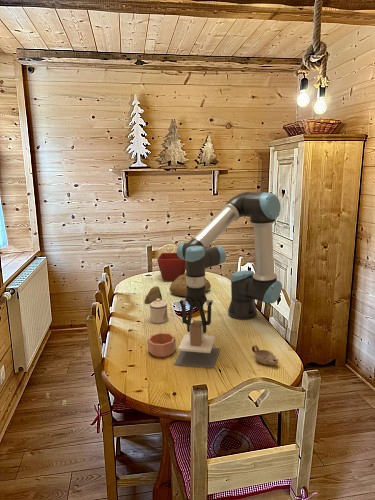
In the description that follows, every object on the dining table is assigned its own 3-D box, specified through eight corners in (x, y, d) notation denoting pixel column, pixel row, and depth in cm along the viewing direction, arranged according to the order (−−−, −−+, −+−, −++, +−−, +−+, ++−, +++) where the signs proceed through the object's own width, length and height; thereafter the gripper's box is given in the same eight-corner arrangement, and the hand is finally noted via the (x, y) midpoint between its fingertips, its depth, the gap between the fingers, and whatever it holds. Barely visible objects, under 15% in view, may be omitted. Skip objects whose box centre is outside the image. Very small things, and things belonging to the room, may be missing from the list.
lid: (215, 338, 158) (214, 318, 156) (210, 353, 145) (209, 331, 143) (185, 336, 160) (184, 316, 158) (178, 350, 148) (177, 329, 146)
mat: (219, 349, 160) (219, 348, 160) (213, 368, 145) (213, 367, 145) (183, 346, 164) (183, 345, 164) (174, 365, 148) (174, 364, 148)
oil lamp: (282, 365, 146) (283, 354, 145) (268, 371, 142) (268, 359, 141) (259, 352, 157) (259, 341, 156) (246, 357, 153) (246, 346, 152)
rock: (142, 302, 212) (159, 299, 211) (141, 287, 216) (158, 285, 214) (147, 307, 222) (163, 304, 221) (146, 293, 225) (162, 291, 224)
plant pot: (162, 274, 271) (161, 252, 268) (188, 274, 269) (188, 252, 266) (158, 283, 253) (157, 259, 249) (186, 283, 251) (185, 259, 247)
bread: (195, 301, 218) (195, 281, 215) (166, 295, 229) (165, 276, 226) (215, 289, 238) (215, 271, 235) (187, 284, 249) (186, 267, 246)
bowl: (177, 346, 164) (177, 333, 162) (171, 359, 153) (170, 345, 152) (153, 344, 166) (153, 332, 165) (145, 356, 156) (145, 343, 154)
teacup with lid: (167, 323, 187) (166, 302, 185) (149, 324, 188) (148, 302, 185) (169, 314, 199) (168, 293, 197) (152, 314, 199) (151, 294, 197)
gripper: (172, 287, 146) (174, 342, 151) (215, 289, 142) (216, 345, 147) (177, 281, 153) (179, 334, 158) (218, 283, 149) (218, 336, 154)
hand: (197, 339), depth 152 cm, fingers closed on lid, 4 cm apart
